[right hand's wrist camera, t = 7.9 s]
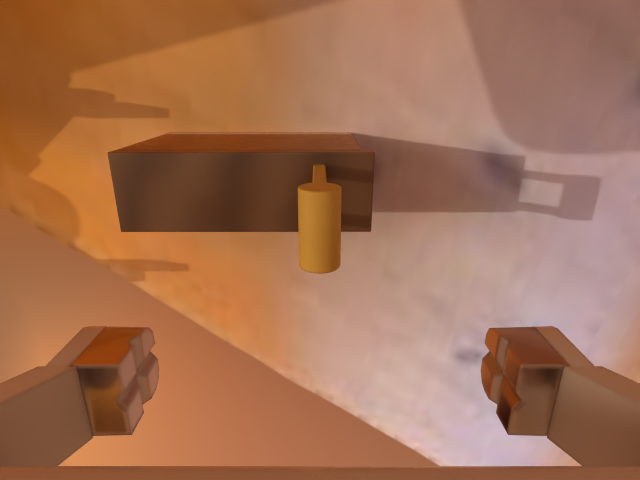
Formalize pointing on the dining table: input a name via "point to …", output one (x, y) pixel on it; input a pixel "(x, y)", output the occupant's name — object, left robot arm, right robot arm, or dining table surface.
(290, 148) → the chest
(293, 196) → the lid
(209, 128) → the dining table surface
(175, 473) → the right robot arm
